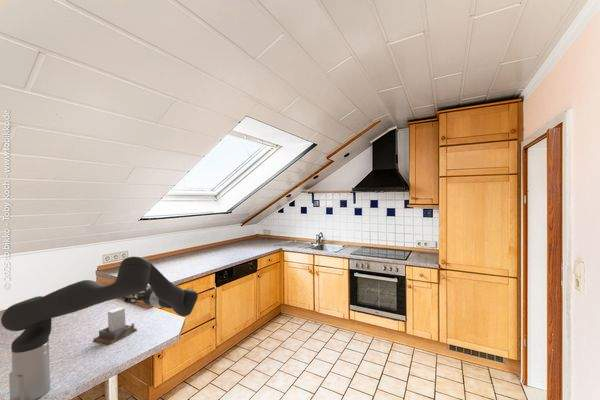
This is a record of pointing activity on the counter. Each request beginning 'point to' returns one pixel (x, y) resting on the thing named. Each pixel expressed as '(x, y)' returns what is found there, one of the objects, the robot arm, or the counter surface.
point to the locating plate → (114, 334)
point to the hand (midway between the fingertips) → (131, 292)
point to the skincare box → (116, 320)
